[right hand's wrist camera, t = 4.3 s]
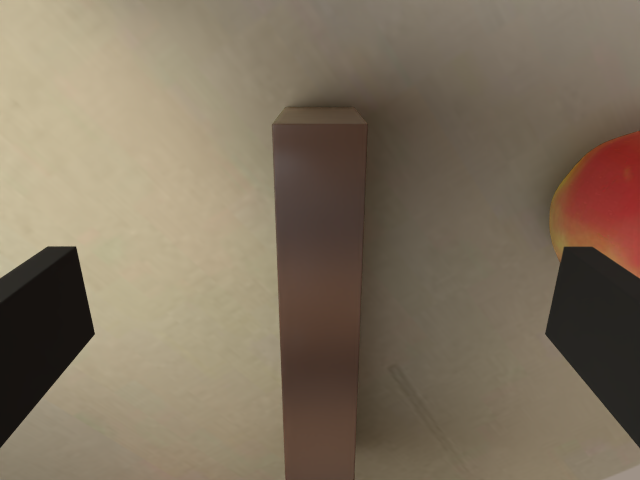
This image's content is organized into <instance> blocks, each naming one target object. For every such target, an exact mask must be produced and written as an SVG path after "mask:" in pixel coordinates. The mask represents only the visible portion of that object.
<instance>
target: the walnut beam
mask: <svg viewBox="0 0 640 480" xmlns="http://www.w3.org/2000/svg"><path fill="white" fill-rule="evenodd" d="M367 129H368V124H367V123H366V122H365V120H364V119H363V118H362V116H361V115H360V114H359V113H358V111H357V110H356V109H355V108H354V107H285V108H284V110H283V111H282V112H281V114H280V115H279V116H278V117H277V119H276V120H275V121H274V123H273V124H272V137H273V163H274V189H275V216H276V242H277V268H278V295H279V321H280V347H281V374H282V400H283V426H284V453H285V479H286V480H354V471H355V445H356V418H357V392H358V366H359V340H360V313H361V287H362V261H363V234H364V208H365V182H366V155H367Z"/></svg>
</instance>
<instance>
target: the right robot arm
mask: <svg viewBox="0 0 640 480" xmlns="http://www.w3.org/2000/svg"><path fill="white" fill-rule="evenodd" d="M94 334H95V332H94V328H93V323H92V318H91V314H90V309H89V305H88V300H87V295H86V291H85V286H84V281H83V277H82V272H81V267H80V263H79V258H78V253H77V249H76V247H46V248H45V249H43V250H42V251H40V252H39V253H37V254H36V255H34V256H33V257H31V258H30V259H28V260H27V261H25V262H24V263H22V264H21V265H19V266H18V267H17V268H15V269H14V270H12V271H11V272H9V273H8V274H6V275H5V276H3V277H2V278H0V448H1V446H2V445H3V444H4V443H5V442H6V440H7V439H8V438H9V437H10V436H11V434H12V433H13V432H14V431H15V430H16V428H17V427H18V426H19V425H20V424H21V422H22V421H23V420H24V419H25V418H26V416H27V415H28V414H29V413H30V412H31V410H32V409H33V408H34V407H35V406H36V404H37V403H38V402H39V401H40V400H41V398H42V397H43V396H44V395H45V393H46V392H47V391H48V390H49V389H50V387H51V386H52V385H53V384H54V383H55V381H56V380H57V379H58V378H59V377H60V375H61V374H62V373H63V372H64V371H65V369H66V368H67V367H68V366H69V365H70V363H71V362H72V361H73V360H74V359H75V357H76V356H77V355H78V354H79V353H80V351H81V350H82V349H83V348H84V347H85V345H86V344H87V343H88V342H89V341H90V339H91V338H92V337H93V336H94ZM545 334H546V336H547V337H548V338H549V339H550V341H551V342H552V343H553V344H554V345H555V347H556V348H557V349H558V350H559V351H560V353H561V354H562V355H563V356H564V357H565V359H566V360H567V361H568V362H569V363H570V365H571V366H572V367H573V368H574V369H575V371H576V372H577V373H578V374H579V375H580V377H581V378H582V379H583V380H584V381H585V383H586V384H587V385H588V386H589V387H590V389H591V390H592V391H593V392H594V393H595V395H596V396H597V397H598V398H599V400H600V401H601V402H602V403H603V404H604V406H605V407H606V408H607V409H608V410H609V412H610V413H611V414H612V415H613V416H614V418H615V419H616V420H617V421H618V422H619V424H620V425H621V426H622V427H623V428H624V430H625V431H626V432H627V433H628V434H629V436H630V437H631V438H632V439H633V440H634V442H635V443H636V444H637V445H638V446H639V448H640V278H638V277H637V276H635V275H634V274H632V273H631V272H629V271H628V270H626V269H625V268H623V267H622V266H621V265H619V264H618V263H616V262H615V261H613V260H612V259H610V258H609V257H607V256H606V255H604V254H603V253H601V252H600V251H598V250H597V249H595V248H594V247H564V249H563V253H562V258H561V263H560V267H559V272H558V277H557V281H556V286H555V291H554V295H553V300H552V305H551V309H550V314H549V318H548V323H547V328H546V332H545Z"/></svg>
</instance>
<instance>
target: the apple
mask: <svg viewBox="0 0 640 480" xmlns="http://www.w3.org/2000/svg"><path fill="white" fill-rule="evenodd" d="M549 228H550V235H551V240H552V244H553V247H554V250H555V252H556V255H557V257H558V259H559V261H560V263H561V258H562V253H563V249H564V247H594V248H595V249H597V250H598V251H600V252H601V253H603V254H604V255H606V256H607V257H609V258H610V259H612V260H613V261H615V262H616V263H618V264H619V265H621V266H622V267H623V268H625V269H626V270H628V271H629V272H631V273H632V274H634V275H635V276H637V277H638V278H640V131H637V132H634V133H630V134H627V135H624V136H621V137H618V138H615V139H612V140H609V141H607V142H605V143H603V144H601V145H599V146H597V147H596V148H594V149H593V150H591V151H590V152H588V153H587V154H586V155H585V156H584V157H583V158H582V159H581V160H580V161H579V162H578V163H577V164H576V165H575V166H574V168H573V169H572V170H571V171H570V172H569V173H568V175H567V176H566V177H565V178H564V180H563V181H562V182H561V184H560V185H559V187H558V188H557V190H556V192H555V194H554V196H553V199H552V201H551V206H550V218H549Z"/></svg>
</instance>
